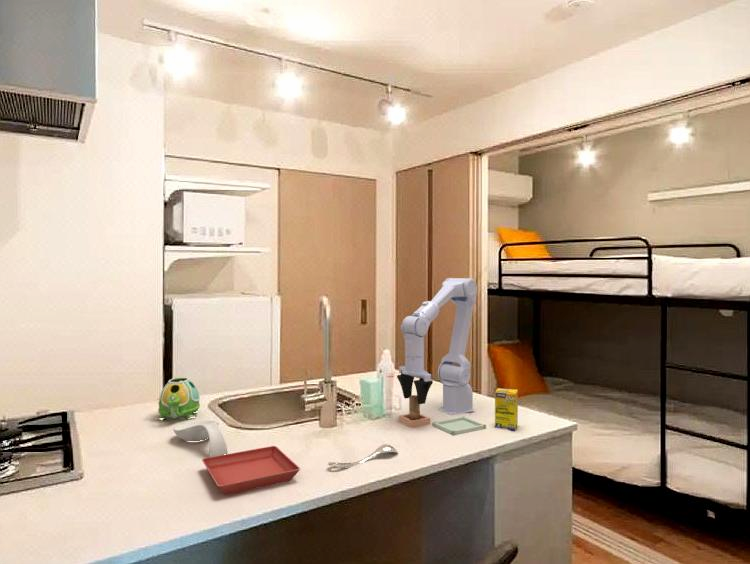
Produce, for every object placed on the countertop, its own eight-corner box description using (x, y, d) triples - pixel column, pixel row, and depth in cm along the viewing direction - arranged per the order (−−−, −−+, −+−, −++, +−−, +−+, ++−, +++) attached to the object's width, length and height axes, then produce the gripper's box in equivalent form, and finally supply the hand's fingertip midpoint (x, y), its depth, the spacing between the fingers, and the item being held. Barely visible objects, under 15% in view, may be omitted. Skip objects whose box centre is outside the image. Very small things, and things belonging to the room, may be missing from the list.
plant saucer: (201, 471, 119) (201, 457, 119) (275, 457, 128) (275, 444, 128) (218, 502, 104) (218, 486, 103) (301, 483, 112) (301, 468, 112)
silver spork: (334, 458, 117) (324, 452, 121) (333, 473, 117) (323, 467, 121) (402, 445, 128) (391, 440, 132) (401, 460, 128) (390, 454, 132)
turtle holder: (149, 428, 150) (148, 388, 150) (164, 411, 168) (163, 375, 168) (192, 426, 152) (192, 386, 152) (203, 409, 170) (202, 374, 170)
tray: (463, 420, 157) (463, 416, 157) (486, 429, 148) (486, 425, 148) (432, 426, 151) (432, 422, 151) (453, 436, 142) (453, 431, 142)
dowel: (415, 420, 156) (415, 394, 156) (421, 423, 153) (421, 397, 153) (407, 422, 154) (407, 396, 154) (413, 425, 152) (413, 398, 151)
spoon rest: (168, 438, 143) (167, 412, 142) (209, 429, 150) (209, 405, 150) (196, 463, 124) (196, 434, 124) (242, 452, 131) (242, 425, 131)
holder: (417, 419, 158) (417, 412, 158) (430, 425, 152) (430, 418, 152) (399, 422, 155) (399, 415, 155) (411, 428, 149) (411, 421, 149)
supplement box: (494, 428, 149) (494, 391, 149) (497, 423, 155) (497, 387, 154) (515, 431, 147) (515, 393, 146) (517, 425, 152) (518, 389, 152)
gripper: (390, 353, 158) (390, 397, 158) (417, 360, 145) (416, 408, 145) (409, 351, 161) (409, 394, 161) (437, 358, 148) (436, 404, 149)
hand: (414, 400), depth 154 cm, fingers open, 7 cm apart
